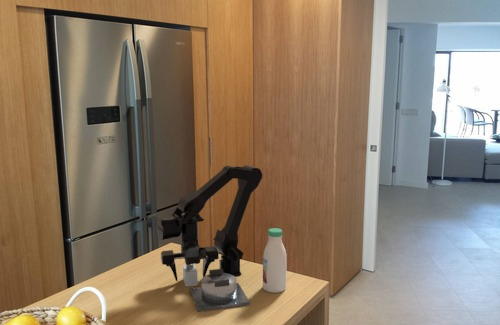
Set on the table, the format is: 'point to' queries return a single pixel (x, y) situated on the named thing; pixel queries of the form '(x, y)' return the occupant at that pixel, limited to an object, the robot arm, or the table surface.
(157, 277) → the table surface
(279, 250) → the milk bottle
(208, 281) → the grey stacked fixture
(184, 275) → the pump
